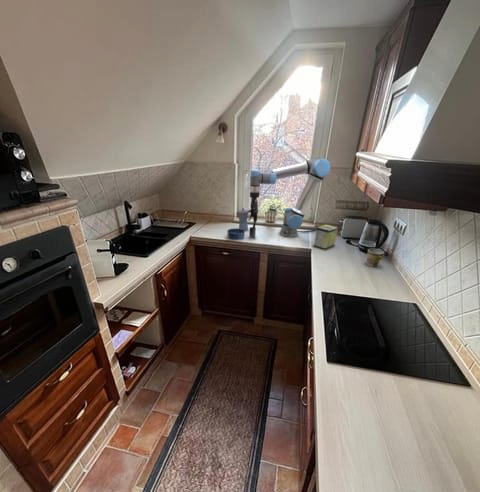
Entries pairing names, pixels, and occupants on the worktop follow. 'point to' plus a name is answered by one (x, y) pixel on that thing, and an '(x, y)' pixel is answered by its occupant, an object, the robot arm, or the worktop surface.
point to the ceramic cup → (374, 257)
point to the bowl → (235, 234)
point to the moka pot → (243, 219)
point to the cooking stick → (254, 224)
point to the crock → (252, 232)
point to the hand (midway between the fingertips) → (253, 219)
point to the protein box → (325, 236)
